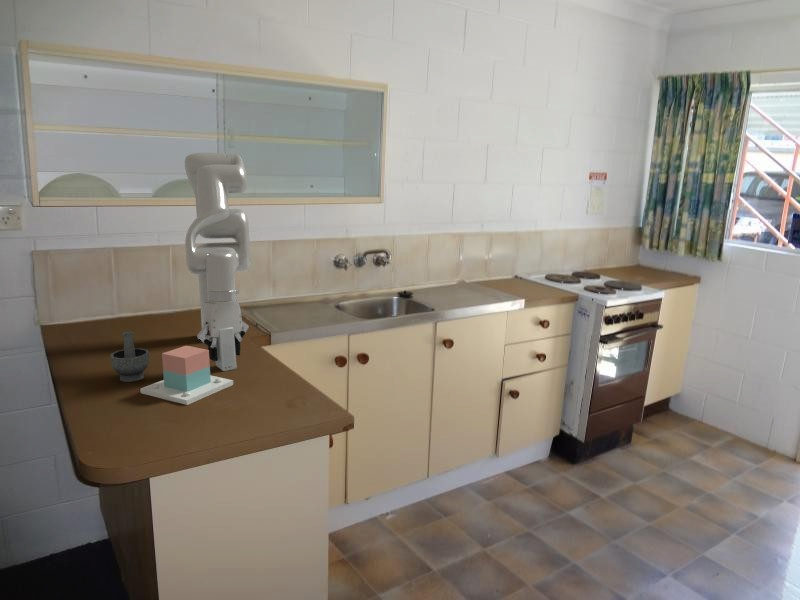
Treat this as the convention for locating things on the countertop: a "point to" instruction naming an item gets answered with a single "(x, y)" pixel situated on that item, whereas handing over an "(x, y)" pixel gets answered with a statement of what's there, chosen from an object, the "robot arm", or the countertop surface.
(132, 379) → the mortar and pestle
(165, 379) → the block on square base
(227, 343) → the skincare box
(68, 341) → the countertop surface
